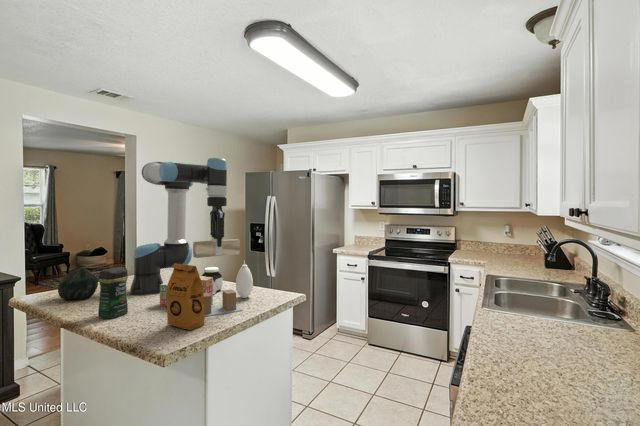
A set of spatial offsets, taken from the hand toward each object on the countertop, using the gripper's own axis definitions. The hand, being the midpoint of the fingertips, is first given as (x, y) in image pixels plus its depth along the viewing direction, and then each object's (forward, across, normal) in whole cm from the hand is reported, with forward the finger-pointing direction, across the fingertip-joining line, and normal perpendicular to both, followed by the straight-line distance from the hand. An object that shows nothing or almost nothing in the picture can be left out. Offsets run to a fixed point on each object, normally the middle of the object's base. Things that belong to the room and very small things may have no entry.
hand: (217, 253), depth 135 cm
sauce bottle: (+24, -14, +16) cm, 32 cm away
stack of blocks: (+24, -15, -9) cm, 29 cm away
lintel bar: (+1, 0, 0) cm, 1 cm away
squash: (+23, -51, -50) cm, 75 cm away
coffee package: (+24, +11, -14) cm, 29 cm away
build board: (+23, 0, 0) cm, 23 cm away
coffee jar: (+24, -15, -36) cm, 45 cm away
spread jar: (+24, -31, +5) cm, 39 cm away
